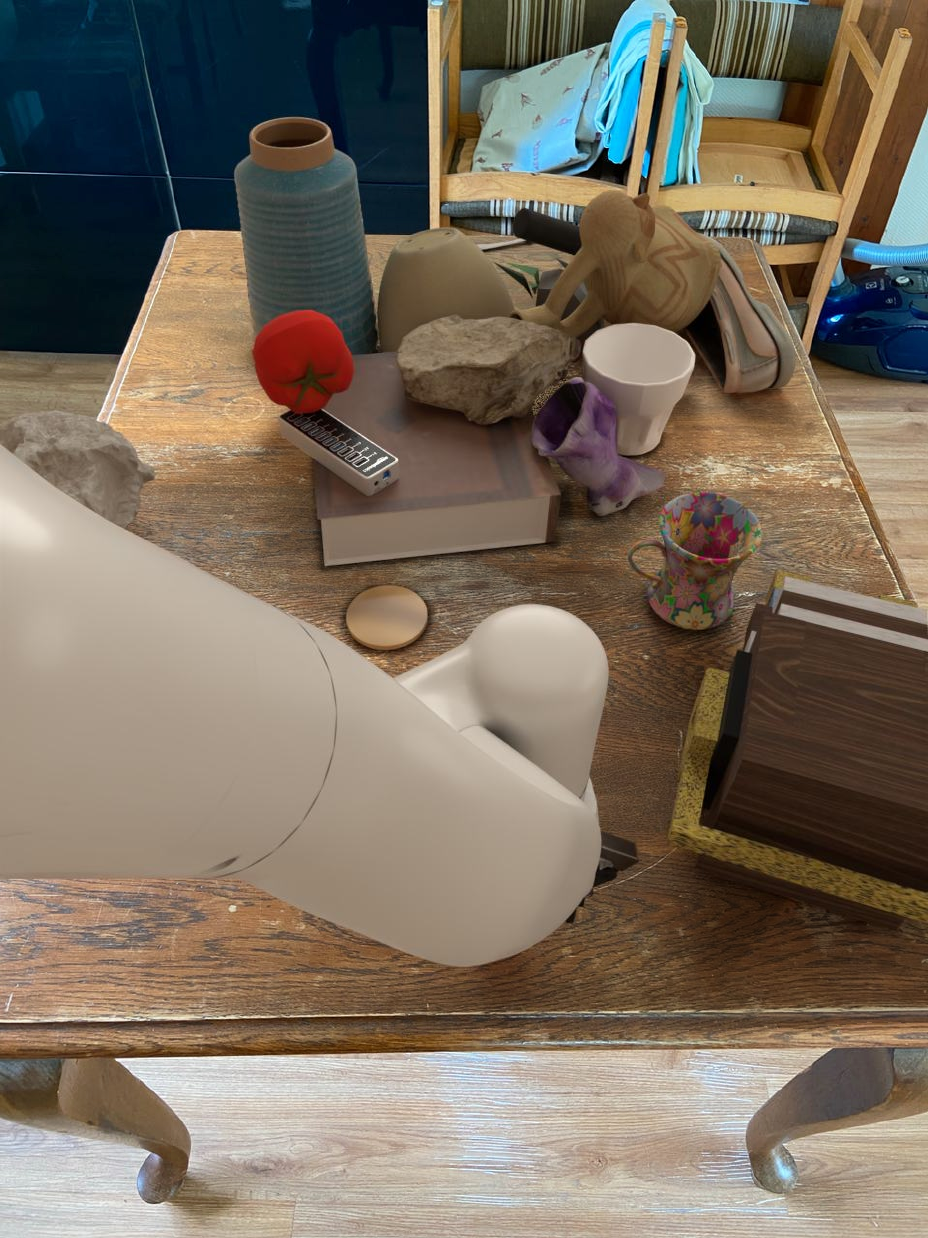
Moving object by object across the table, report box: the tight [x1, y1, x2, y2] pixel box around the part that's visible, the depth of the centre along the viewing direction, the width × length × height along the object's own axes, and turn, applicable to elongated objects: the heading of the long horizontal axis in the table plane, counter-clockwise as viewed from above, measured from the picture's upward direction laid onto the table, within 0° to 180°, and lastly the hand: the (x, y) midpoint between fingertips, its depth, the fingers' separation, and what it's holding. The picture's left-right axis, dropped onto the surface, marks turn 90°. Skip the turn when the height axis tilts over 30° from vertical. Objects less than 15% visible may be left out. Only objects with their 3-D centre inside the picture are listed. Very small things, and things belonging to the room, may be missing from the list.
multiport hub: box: [277, 409, 399, 496], centre depth 94 cm, size 4×14×2 cm, turn 45°
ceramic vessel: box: [509, 189, 722, 338], centre depth 109 cm, size 17×20×25 cm
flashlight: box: [512, 207, 582, 257], centre depth 124 cm, size 5×24×5 cm
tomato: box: [251, 310, 354, 414], centre depth 92 cm, size 10×11×6 cm
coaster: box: [345, 584, 429, 651], centre depth 89 cm, size 8×8×1 cm
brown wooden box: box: [666, 568, 928, 932], centre depth 72 cm, size 21×15×30 cm
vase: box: [233, 116, 380, 355], centre depth 110 cm, size 16×16×27 cm
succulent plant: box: [491, 257, 605, 353], centre depth 123 cm, size 16×20×9 cm
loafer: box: [680, 232, 797, 394], centre depth 118 cm, size 11×30×9 cm
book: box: [312, 352, 562, 567], centre depth 101 cm, size 24×28×6 cm
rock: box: [396, 314, 581, 426], centre depth 101 cm, size 16×10×20 cm
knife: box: [475, 238, 530, 251], centre depth 139 cm, size 19×2×1 cm, turn 107°
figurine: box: [532, 376, 666, 517], centre depth 98 cm, size 9×10×15 cm
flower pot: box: [376, 227, 515, 353], centre depth 115 cm, size 18×18×12 cm
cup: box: [582, 323, 696, 456], centre depth 104 cm, size 12×12×11 cm
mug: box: [626, 491, 763, 631], centre depth 86 cm, size 12×9×11 cm
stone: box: [0, 409, 157, 530], centre depth 94 cm, size 17×17×15 cm
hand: (509, 904), depth 66 cm, fingers open, 7 cm apart
